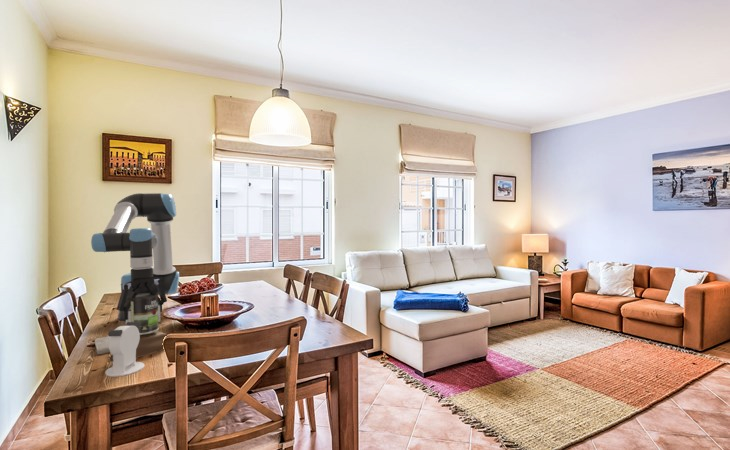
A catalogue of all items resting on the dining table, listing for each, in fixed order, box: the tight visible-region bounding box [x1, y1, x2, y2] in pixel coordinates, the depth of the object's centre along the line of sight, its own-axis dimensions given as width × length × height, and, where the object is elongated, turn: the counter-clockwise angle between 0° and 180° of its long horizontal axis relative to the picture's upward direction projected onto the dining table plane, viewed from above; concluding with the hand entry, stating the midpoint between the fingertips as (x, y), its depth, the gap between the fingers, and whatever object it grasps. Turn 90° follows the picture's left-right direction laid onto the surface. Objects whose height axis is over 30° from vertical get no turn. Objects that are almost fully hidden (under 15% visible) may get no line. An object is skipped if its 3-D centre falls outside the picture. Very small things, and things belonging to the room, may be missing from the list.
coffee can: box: [127, 293, 160, 335], centre depth 146 cm, size 10×10×14 cm
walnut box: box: [136, 330, 168, 359], centre depth 146 cm, size 12×12×6 cm
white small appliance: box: [104, 322, 145, 378], centre depth 128 cm, size 12×11×15 cm
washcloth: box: [94, 335, 110, 356], centre depth 152 cm, size 12×18×3 cm, turn 39°
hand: (143, 324), depth 146 cm, fingers closed on coffee can, 10 cm apart
